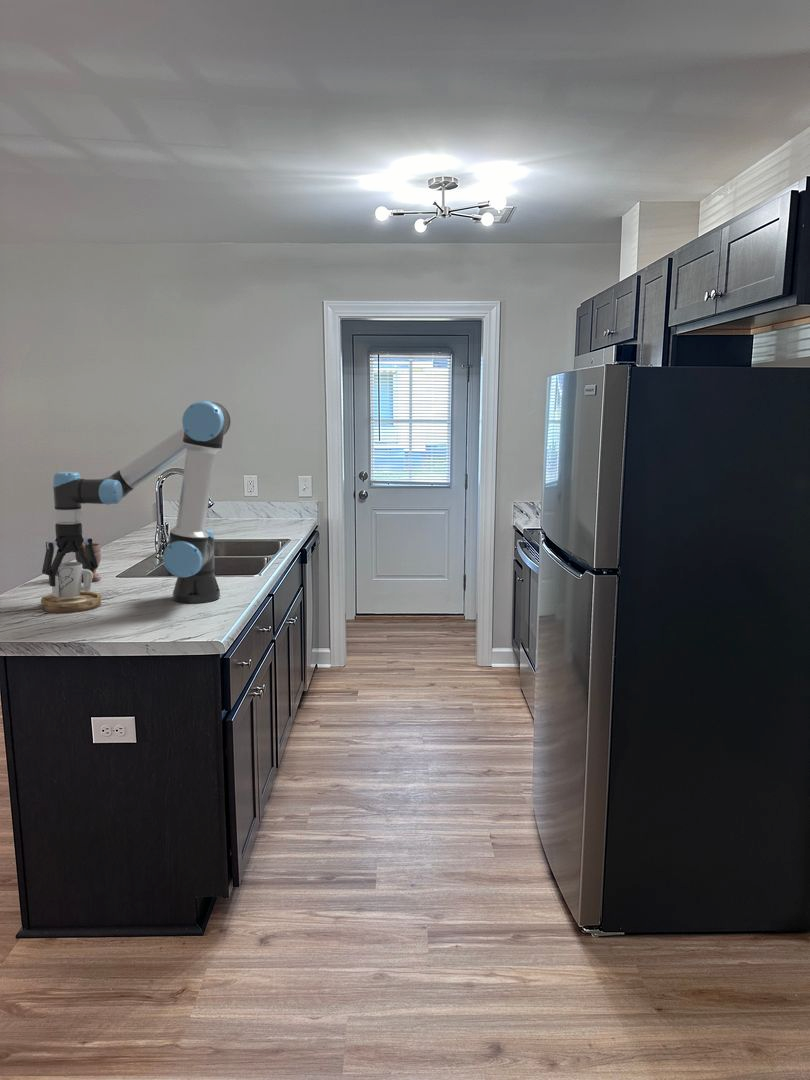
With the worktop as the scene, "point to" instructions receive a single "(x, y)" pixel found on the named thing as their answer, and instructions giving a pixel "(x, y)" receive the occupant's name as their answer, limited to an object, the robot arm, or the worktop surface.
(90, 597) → the round wooden tray
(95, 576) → the mortar and pestle
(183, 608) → the worktop surface
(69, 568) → the mug
